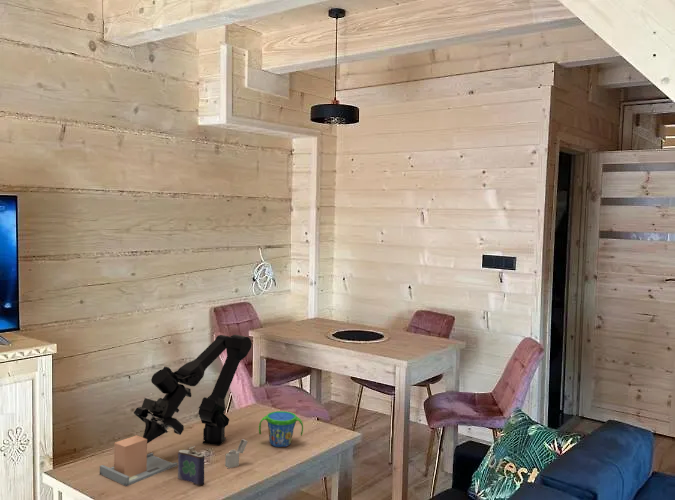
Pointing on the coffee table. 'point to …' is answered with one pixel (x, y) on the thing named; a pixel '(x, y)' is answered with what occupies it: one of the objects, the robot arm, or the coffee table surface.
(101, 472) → the slate lane
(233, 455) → the lighter
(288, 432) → the snack cup
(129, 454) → the terracotta block
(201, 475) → the flask
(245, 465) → the coffee table surface
